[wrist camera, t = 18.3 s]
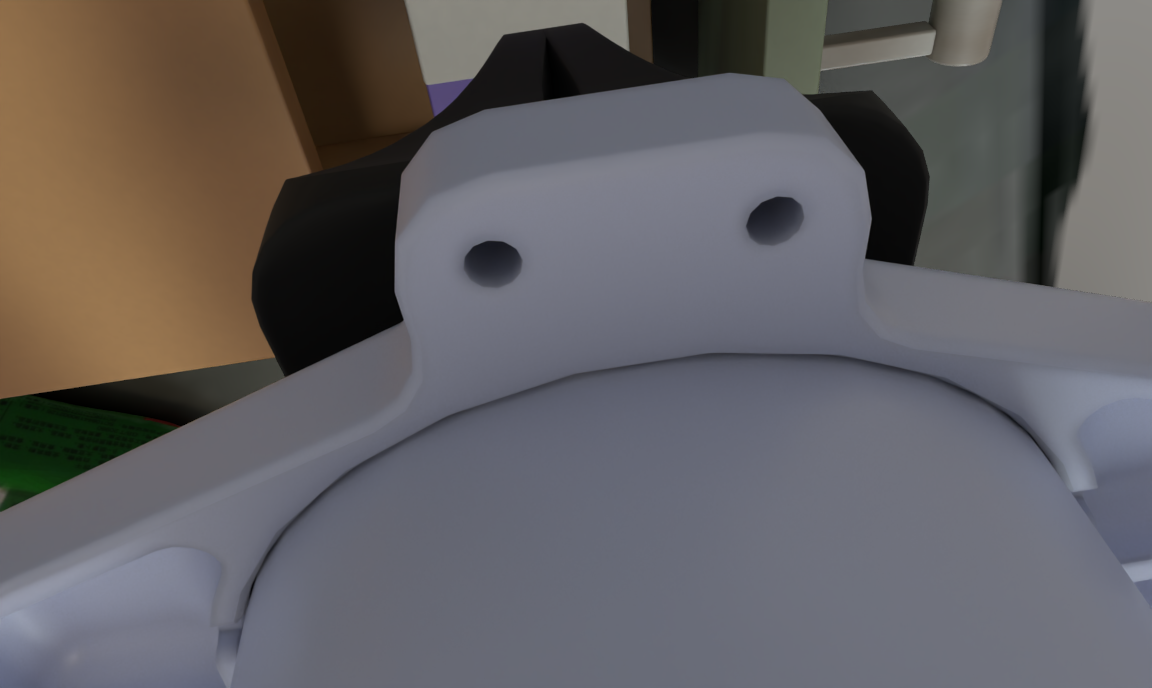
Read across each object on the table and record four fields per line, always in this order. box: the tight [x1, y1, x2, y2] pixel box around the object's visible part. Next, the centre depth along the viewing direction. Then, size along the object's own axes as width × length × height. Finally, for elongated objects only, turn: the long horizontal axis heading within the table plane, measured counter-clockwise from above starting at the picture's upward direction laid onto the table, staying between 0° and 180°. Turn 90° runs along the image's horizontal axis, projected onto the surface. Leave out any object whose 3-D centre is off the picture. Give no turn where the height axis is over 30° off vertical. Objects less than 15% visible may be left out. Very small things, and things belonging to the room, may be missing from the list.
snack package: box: [0, 395, 181, 512], centre depth 28 cm, size 7×16×5 cm, turn 64°
